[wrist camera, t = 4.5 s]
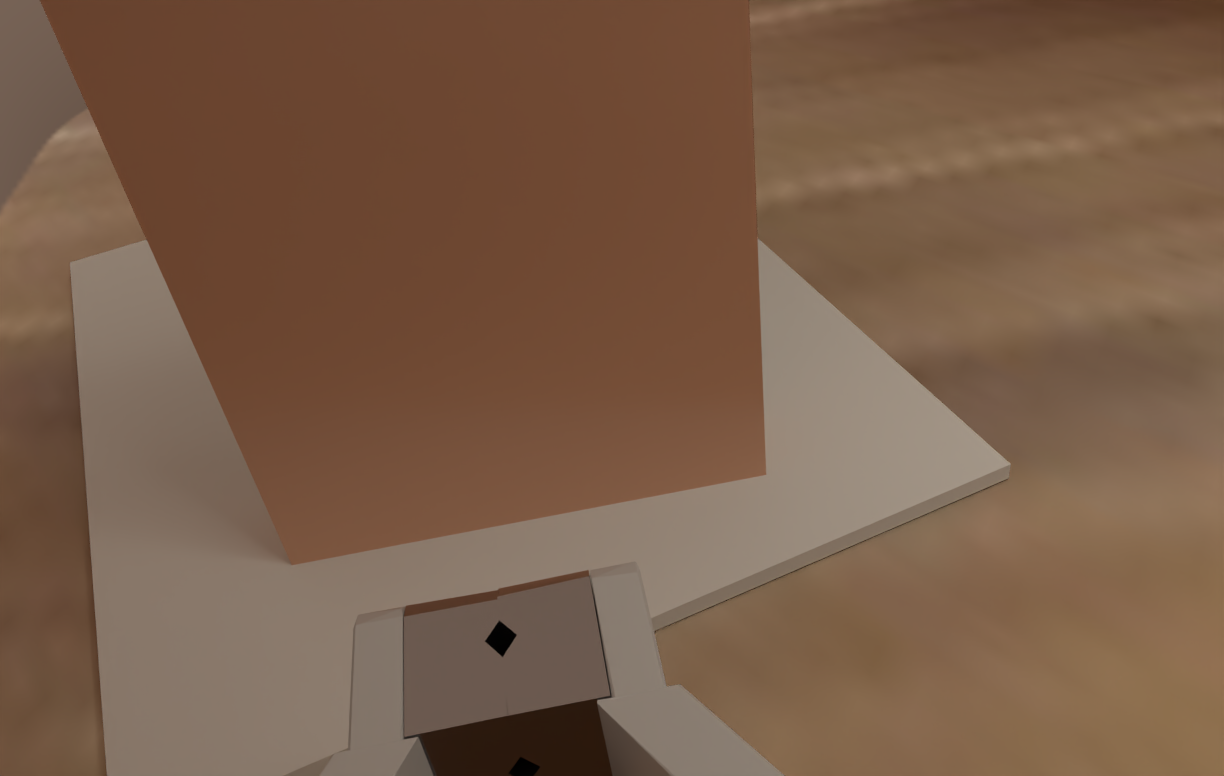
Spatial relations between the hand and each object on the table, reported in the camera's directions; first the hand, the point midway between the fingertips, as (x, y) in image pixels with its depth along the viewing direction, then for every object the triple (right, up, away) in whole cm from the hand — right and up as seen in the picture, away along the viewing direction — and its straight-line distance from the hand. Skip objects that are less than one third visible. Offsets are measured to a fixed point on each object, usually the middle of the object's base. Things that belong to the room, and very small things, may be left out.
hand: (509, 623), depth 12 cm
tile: (-1, 0, +12) cm, 12 cm away
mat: (-3, +3, +17) cm, 17 cm away
